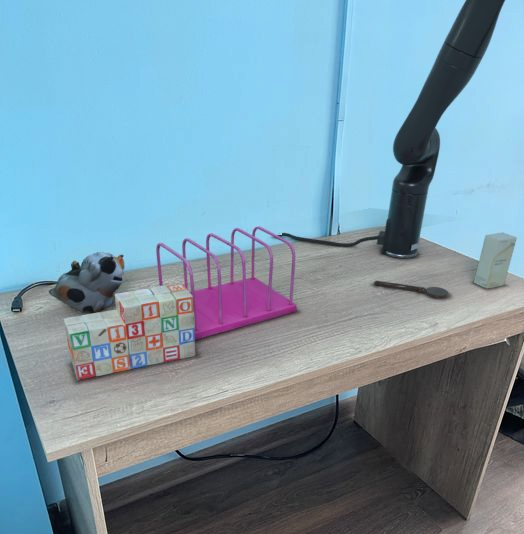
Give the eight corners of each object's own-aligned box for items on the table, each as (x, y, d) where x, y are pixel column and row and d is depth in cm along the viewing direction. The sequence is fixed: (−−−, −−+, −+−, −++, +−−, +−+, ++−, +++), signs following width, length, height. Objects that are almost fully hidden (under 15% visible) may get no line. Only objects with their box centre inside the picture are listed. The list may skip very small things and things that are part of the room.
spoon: (372, 289, 126) (372, 284, 125) (375, 281, 130) (375, 276, 129) (447, 300, 121) (448, 295, 121) (447, 291, 126) (448, 287, 125)
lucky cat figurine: (75, 286, 123) (98, 233, 119) (119, 312, 122) (143, 260, 118) (36, 295, 109) (61, 234, 104) (86, 324, 108) (112, 265, 104)
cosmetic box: (486, 289, 127) (499, 240, 121) (472, 282, 130) (484, 235, 124) (505, 285, 130) (518, 237, 123) (490, 278, 133) (503, 231, 127)
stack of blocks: (77, 381, 90) (65, 317, 84) (71, 363, 95) (59, 301, 88) (196, 355, 98) (193, 295, 92) (185, 340, 103) (182, 281, 97)
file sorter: (156, 307, 115) (150, 237, 107) (254, 283, 127) (255, 219, 119) (192, 341, 103) (188, 265, 95) (296, 312, 115) (301, 242, 106)
